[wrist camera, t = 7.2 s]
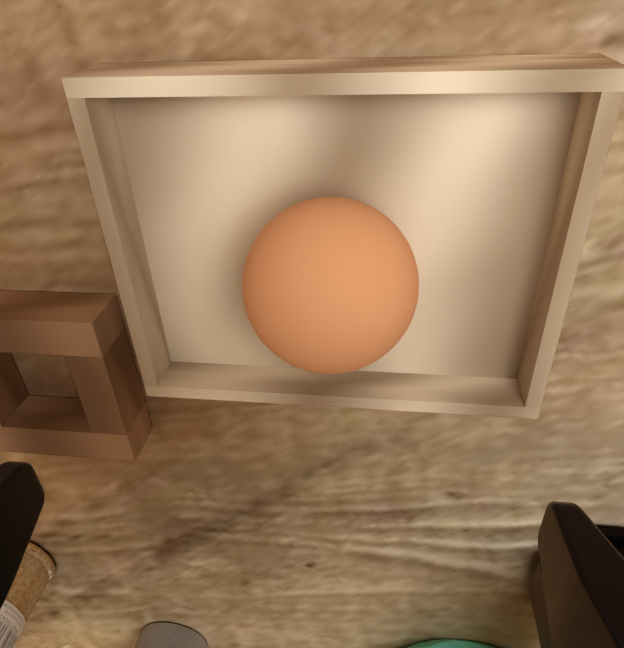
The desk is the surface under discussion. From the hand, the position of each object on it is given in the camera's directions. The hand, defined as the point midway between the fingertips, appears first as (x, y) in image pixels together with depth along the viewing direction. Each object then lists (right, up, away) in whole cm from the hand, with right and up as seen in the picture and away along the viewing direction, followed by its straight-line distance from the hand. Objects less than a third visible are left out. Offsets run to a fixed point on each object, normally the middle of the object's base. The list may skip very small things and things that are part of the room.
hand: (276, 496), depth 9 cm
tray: (+1, +6, +9) cm, 11 cm away
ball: (+1, +5, +8) cm, 10 cm away
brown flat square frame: (-10, +1, +14) cm, 17 cm away
